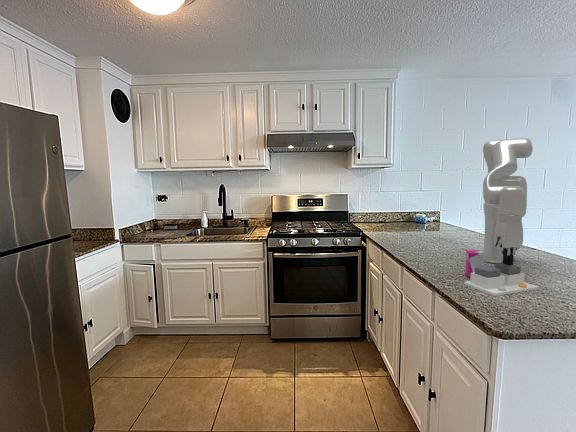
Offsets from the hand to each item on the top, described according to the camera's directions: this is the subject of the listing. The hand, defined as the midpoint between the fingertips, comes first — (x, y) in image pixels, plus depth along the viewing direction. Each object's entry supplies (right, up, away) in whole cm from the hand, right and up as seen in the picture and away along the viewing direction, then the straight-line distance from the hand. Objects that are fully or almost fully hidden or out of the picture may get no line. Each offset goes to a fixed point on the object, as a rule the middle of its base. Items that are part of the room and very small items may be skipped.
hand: (507, 264), depth 127 cm
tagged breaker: (0, -5, +1) cm, 5 cm away
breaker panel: (-4, -8, -2) cm, 10 cm away
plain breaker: (-9, -5, -2) cm, 11 cm away
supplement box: (-7, -7, +11) cm, 15 cm away
